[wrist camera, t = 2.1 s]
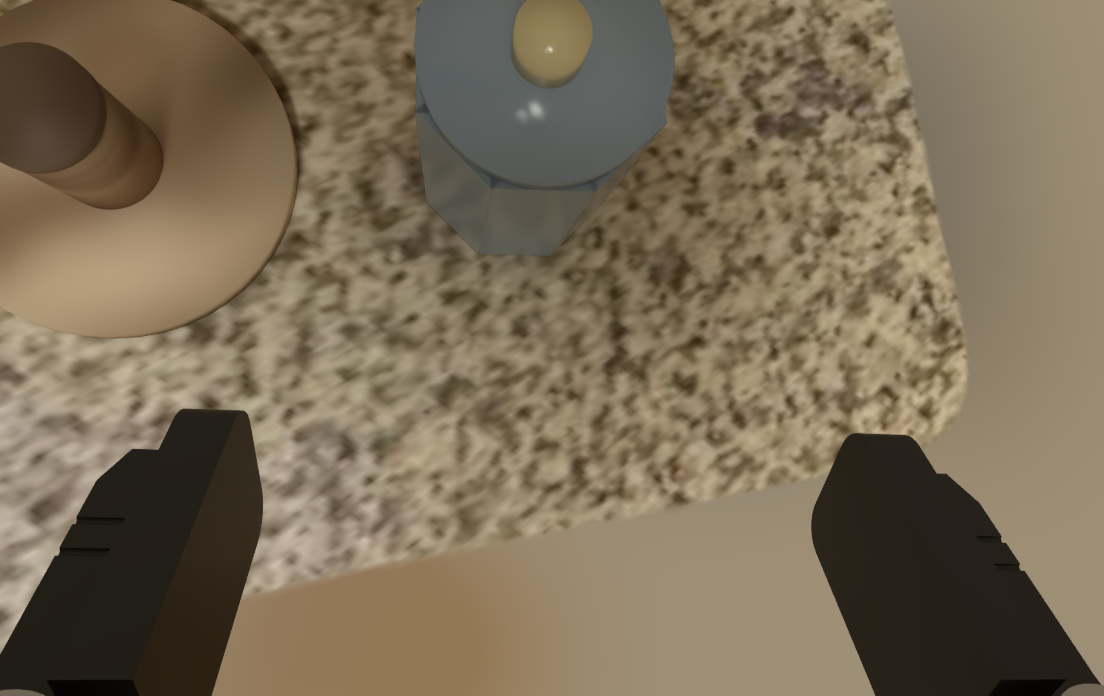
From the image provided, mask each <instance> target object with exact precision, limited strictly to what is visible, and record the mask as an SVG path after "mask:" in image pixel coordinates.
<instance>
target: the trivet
mask: <svg viewBox="0 0 1104 696" xmlns="http://www.w3.org/2000/svg"><path fill="white" fill-rule="evenodd" d="M19 42H35V43H42V44H46V45H50V46H52V47H55V48H58V49H60V50H62V51H64V52H65V53H67V54H68V55H70V56H71V57H73V58H74V59H75V60H76V61H77V62H78V63H80V64H81V65H82V66H83V67H84V68H85V69H86V70H87V71H89V73H90V74H91V75H92V76H93V77H94V78H95V80H96V81H97V82H98V83H100V84H101V85H102V86H103V87H104V88H105V89H106V90H107V91H109V92H110V93H111V94H112V95H113V96H114V97H115V98H117V99H118V100H119V101H120V102H121V103H122V104H123V105H124V106H126V107H127V108H128V109H129V110H130V111H131V112H132V113H134V114H135V115H136V116H137V117H138V118H139V119H140V120H141V121H143V122H144V123H145V124H146V125H147V126H148V127H149V128H150V129H151V130H152V131H153V132H154V134H155V135H156V137H157V139H158V141H159V143H160V145H161V148H162V153H163V170H162V174H161V177H160V179H159V181H158V183H157V185H156V187H155V188H154V189H153V191H152V192H151V193H150V194H149V195H148V196H147V197H146V198H144V199H143V200H142V201H140V202H138V203H136V204H134V205H132V206H130V207H126V208H123V209H117V210H105V209H98V208H94V207H91V206H88V205H86V204H84V203H82V202H80V201H78V200H76V199H74V198H73V197H71V196H69V195H67V194H65V193H63V192H61V191H59V190H57V189H55V188H53V187H51V186H49V185H47V184H45V183H44V182H42V181H40V180H38V179H36V178H34V177H32V176H30V175H28V174H26V173H24V172H22V171H19V170H16V169H13V168H11V167H9V166H7V165H5V164H3V163H1V162H0V307H2V308H3V309H5V310H7V311H8V312H10V313H12V314H14V315H16V316H19V317H21V318H23V319H25V320H27V321H29V322H31V323H34V324H37V325H40V326H44V327H47V328H50V329H53V330H56V331H61V332H67V333H72V334H77V335H83V336H89V337H102V338H132V337H143V336H148V335H154V334H159V333H164V332H167V331H171V330H174V329H177V328H180V327H183V326H186V325H189V324H191V323H193V322H195V321H197V320H200V319H202V318H204V317H206V316H208V315H210V314H211V313H213V312H215V311H216V310H218V309H219V308H221V307H223V306H224V305H226V304H227V303H229V302H230V301H231V300H232V299H234V298H235V297H236V296H237V295H239V294H240V293H241V292H242V291H243V290H245V289H246V288H247V287H248V286H249V284H250V283H251V282H252V281H253V280H254V279H255V278H256V277H257V276H258V275H259V274H260V273H261V272H262V270H263V269H264V267H265V266H266V265H267V263H268V262H269V260H270V259H271V258H272V256H273V255H274V253H275V251H276V249H277V247H278V246H279V244H280V242H281V240H282V238H283V236H284V234H285V231H286V229H287V226H288V223H289V221H290V218H291V215H292V211H293V206H294V202H295V197H296V191H297V179H298V164H297V150H296V144H295V139H294V134H293V129H292V126H291V124H290V121H289V118H288V115H287V112H286V109H285V107H284V105H283V103H282V101H281V99H280V97H279V95H278V93H277V91H276V89H275V87H274V86H273V84H272V82H271V80H270V79H269V78H268V76H267V75H266V73H265V72H264V70H263V69H262V67H261V66H260V64H259V63H258V61H257V60H256V59H255V58H254V57H253V56H252V55H251V53H250V52H249V51H248V50H247V49H246V48H245V47H244V45H243V44H241V43H240V42H239V41H238V40H237V39H236V38H235V37H233V36H232V35H231V34H230V33H229V32H228V31H227V30H225V29H224V28H223V27H221V26H220V25H218V24H217V23H215V22H214V21H212V20H211V19H209V18H208V17H206V16H205V15H203V14H201V13H199V12H197V11H195V10H193V9H191V8H189V7H187V6H185V5H183V4H180V3H177V2H175V1H172V0H34V1H32V2H29V3H27V4H24V5H21V6H19V7H17V8H15V9H13V10H12V11H10V12H8V13H6V14H4V15H2V16H0V47H2V46H4V45H8V44H12V43H19Z"/></svg>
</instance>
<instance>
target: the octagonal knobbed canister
mask: <svg viewBox="0 0 1104 696" xmlns="http://www.w3.org/2000/svg"><path fill="white" fill-rule="evenodd" d="M415 60H416V111H415V114H416V122H417V130H418V138H419V146H420V154H421V162H422V170H423V178H424V186H425V194H426V202H427V203H428V204H429V205H430V206H431V207H432V208H433V209H434V210H435V211H436V212H437V213H438V214H439V215H440V216H441V217H442V218H443V219H444V220H445V221H446V222H447V223H448V224H449V225H450V226H451V227H452V228H453V229H454V230H455V231H456V232H457V233H458V234H459V235H460V236H461V237H462V238H463V239H464V240H465V241H466V242H467V243H468V244H469V245H470V246H471V247H472V248H473V250H474V251H475V252H476V253H477V254H478V255H479V254H487V255H543V256H550V255H551V254H552V253H553V252H554V251H555V250H556V249H557V248H558V247H559V246H560V245H561V244H562V243H563V242H564V241H565V240H566V239H567V238H568V237H569V236H570V235H571V234H572V233H573V232H574V231H575V230H576V229H577V228H578V227H579V226H580V225H581V224H582V223H583V222H584V221H585V220H586V219H587V218H588V217H589V216H590V215H591V214H592V213H593V212H594V211H595V210H596V209H597V208H599V207H600V206H601V204H602V203H603V202H604V201H605V199H606V198H607V197H608V196H609V194H610V193H611V192H612V191H613V189H614V188H615V187H616V186H617V184H618V183H619V182H620V181H621V179H622V178H623V177H624V176H625V174H626V173H627V172H628V171H629V169H630V168H631V167H632V166H633V164H634V163H635V162H636V161H637V159H638V158H639V157H640V156H641V154H642V153H643V152H644V151H645V149H646V148H647V147H648V146H649V144H650V143H651V142H652V141H653V139H654V138H655V137H656V136H657V134H658V133H659V132H660V131H661V129H662V128H663V127H664V126H665V124H666V122H667V121H666V104H667V101H668V98H669V95H670V92H671V87H672V82H673V76H674V47H673V40H672V35H671V30H670V26H669V23H668V20H667V17H666V14H665V12H664V9H663V7H662V5H661V3H660V1H659V0H424V1H423V3H422V4H420V5H419V6H418V7H416V33H415Z"/></svg>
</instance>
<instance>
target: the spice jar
mask: <svg viewBox="0 0 1104 696" xmlns="http://www.w3.org/2000/svg"><path fill="white" fill-rule="evenodd" d="M0 162H1V163H3V164H5V165H7V166H9V167H11V168H13V169H16V170H19V171H22V172H24V173H26V174H28V175H30V176H32V177H34V178H36V179H38V180H40V181H42V182H44V183H45V184H47V185H49V186H51V187H53V188H55V189H57V190H59V191H61V192H63V193H65V194H67V195H69V196H71V197H73V198H74V199H76V200H78V201H80V202H82V203H84V204H86V205H88V206H91V207H94V208H98V209H105V210H117V209H123V208H126V207H130V206H132V205H134V204H136V203H138V202H140V201H142V200H143V199H144V198H146V197H147V196H148V195H149V194H150V193H151V192H152V191H153V189H154V188H155V187H156V185H157V183H158V181H159V179H160V177H161V174H162V170H163V153H162V148H161V145H160V143H159V141H158V139H157V137H156V135H155V134H154V132H153V131H152V130H151V129H150V128H149V127H148V126H147V125H146V124H145V123H144V122H143V121H141V120H140V119H139V118H138V117H137V116H136V115H135V114H134V113H132V112H131V111H130V110H129V109H128V108H127V107H126V106H124V105H123V104H122V103H121V102H120V101H119V100H118V99H117V98H115V97H114V96H113V95H112V94H111V93H110V92H109V91H107V90H106V89H105V88H104V87H103V86H102V85H101V84H100V83H98V82H97V81H96V80H95V78H94V77H93V76H92V75H91V74H90V73H89V71H87V70H86V69H85V68H84V67H83V66H82V65H81V64H80V63H78V62H77V61H76V60H75V59H74V58H73V57H71V56H70V55H68V54H67V53H65V52H64V51H62V50H60V49H58V48H55V47H52V46H50V45H46V44H42V43H35V42H19V43H12V44H8V45H4V46H2V47H0Z"/></svg>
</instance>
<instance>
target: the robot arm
mask: <svg viewBox="0 0 1104 696" xmlns="http://www.w3.org/2000/svg"><path fill="white" fill-rule="evenodd" d="M262 514H263V494H262V487H261V482H260V476H259V470H258V465H257V459H256V453H255V447H254V442H253V436H252V430H251V425H250V420H249V417H248V415H247V413H246V412H245V411H239V410H209V409H181V410H180V411H179V412H178V413H177V414H176V416H175V417H174V419H173V421H172V423H171V425H170V427H169V429H168V431H167V433H166V436H165V438H164V440H163V442H162V444H161V446H160V448H159V450H149V449H132V450H131V451H130V452H128V453H127V454H126V455H125V456H124V457H123V458H122V459H120V460H119V461H118V462H117V463H116V464H115V465H114V466H112V467H111V468H110V469H109V470H108V471H107V472H106V473H104V474H103V475H102V476H101V477H100V478H99V479H98V480H97V481H96V483H95V484H94V486H93V488H92V490H91V492H90V493H89V495H88V497H87V499H86V501H85V502H84V504H83V506H82V508H81V510H80V512H79V513H78V515H77V522H76V524H72V526H71V528H70V530H69V531H68V533H67V535H66V537H65V539H64V540H63V542H62V544H61V546H60V552H59V555H58V556H55V557H54V558H53V560H52V562H51V564H50V566H49V568H48V569H47V571H46V573H45V575H44V577H43V578H42V580H41V582H40V584H39V586H38V587H37V589H36V591H35V593H34V595H33V596H32V598H31V600H30V602H29V604H28V605H27V607H26V609H25V611H24V613H23V614H22V616H21V618H20V620H19V622H18V624H17V625H16V627H15V629H14V631H13V633H12V634H11V636H10V638H9V640H8V642H7V643H6V645H5V647H4V649H3V651H2V652H1V654H0V696H212V692H213V689H214V686H215V682H216V679H217V676H218V672H219V669H220V666H221V663H222V659H223V656H224V653H225V649H226V646H227V643H228V639H229V636H230V633H231V629H232V626H233V623H234V619H235V616H236V613H237V610H238V606H239V603H240V600H241V596H242V593H243V590H244V586H245V583H246V580H247V576H248V573H249V570H250V566H251V563H252V560H253V556H254V553H255V550H256V546H257V543H258V539H259V535H260V530H261V524H262ZM811 531H812V539H813V544H814V548H815V551H816V554H817V556H818V558H819V561H820V563H821V566H822V568H823V571H824V573H825V575H826V578H827V580H828V582H829V585H830V587H831V590H832V592H833V595H834V597H835V599H836V602H837V604H838V607H839V609H840V611H841V614H842V616H843V619H844V621H845V623H846V626H847V628H848V631H849V633H850V636H851V638H852V640H853V643H854V645H855V648H856V650H857V652H858V655H859V657H860V660H861V662H862V664H863V667H864V669H865V671H866V674H867V676H868V679H869V681H870V684H871V686H872V688H873V691H874V693H875V696H1104V686H1103V685H1101V684H1100V682H1099V681H1098V680H1097V678H1096V677H1095V676H1094V674H1093V673H1092V671H1091V670H1090V668H1089V667H1088V666H1087V664H1086V662H1085V661H1084V659H1083V658H1082V656H1081V655H1080V653H1079V652H1078V651H1077V649H1076V647H1075V646H1074V645H1073V643H1072V642H1071V640H1070V638H1069V637H1068V635H1067V634H1066V632H1065V631H1064V630H1063V628H1062V626H1061V625H1060V623H1059V622H1058V620H1057V619H1056V618H1055V616H1054V614H1053V613H1052V611H1051V610H1050V608H1049V607H1048V605H1047V604H1046V602H1045V601H1044V599H1043V598H1042V596H1041V595H1040V594H1039V592H1038V590H1037V589H1036V587H1035V586H1034V584H1033V583H1032V581H1031V580H1030V578H1029V577H1028V575H1027V574H1026V572H1025V571H1021V570H1020V569H1019V565H1020V563H1019V562H1018V560H1017V559H1016V557H1015V556H1014V554H1013V553H1012V551H1011V550H1010V548H1009V547H1008V545H1007V544H1006V543H1002V542H1001V535H1000V533H999V532H998V530H997V529H996V527H995V526H994V524H993V523H992V521H991V520H990V518H989V517H988V515H987V514H986V512H985V511H984V509H983V508H982V506H981V505H980V503H979V502H978V501H976V500H975V499H974V498H973V497H972V496H971V495H970V494H969V493H967V492H966V491H965V490H964V489H963V488H962V487H961V486H959V485H958V484H957V483H956V482H955V481H954V480H952V479H951V478H950V477H949V476H948V475H947V474H937V473H936V472H935V470H934V469H933V467H932V465H931V464H930V462H929V461H928V459H927V458H926V456H925V454H924V453H923V451H922V450H921V448H920V446H919V445H918V444H917V442H916V441H915V440H914V439H913V438H911V437H910V436H907V435H891V434H862V433H854V434H851V435H849V436H848V437H847V438H846V439H845V441H844V442H843V444H842V446H841V448H840V451H839V453H838V455H837V457H836V460H835V462H834V464H833V466H832V468H831V471H830V473H829V475H828V477H827V479H826V482H825V484H824V486H823V488H822V491H821V493H820V495H819V497H818V499H817V501H816V504H815V506H814V510H813V513H812V522H811Z"/></svg>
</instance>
